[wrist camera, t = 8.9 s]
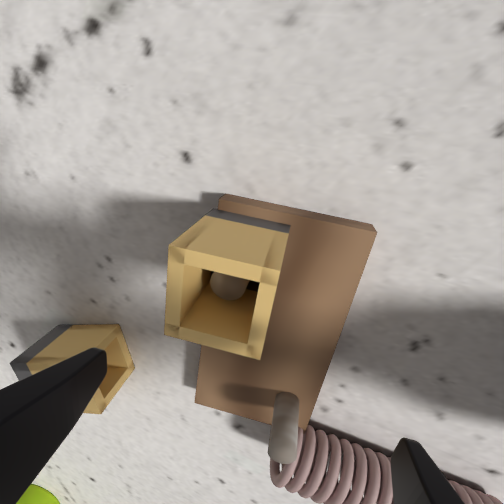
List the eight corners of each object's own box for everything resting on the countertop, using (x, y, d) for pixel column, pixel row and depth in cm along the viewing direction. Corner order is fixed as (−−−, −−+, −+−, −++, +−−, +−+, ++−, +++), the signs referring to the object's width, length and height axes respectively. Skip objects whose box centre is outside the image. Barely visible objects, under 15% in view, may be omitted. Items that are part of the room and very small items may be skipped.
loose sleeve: (275, 293, 19) (259, 360, 13) (205, 276, 19) (164, 334, 14) (290, 225, 17) (280, 270, 12) (213, 208, 17) (168, 245, 12)
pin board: (372, 224, 18) (395, 262, 13) (304, 417, 24) (302, 491, 20) (225, 193, 18) (194, 217, 14) (200, 388, 25) (173, 451, 20)
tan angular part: (9, 363, 22) (79, 364, 20) (58, 324, 26) (119, 324, 24) (35, 409, 23) (101, 414, 22) (77, 366, 27) (134, 368, 26)
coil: (260, 493, 22) (493, 586, 22) (280, 465, 20) (542, 569, 19) (270, 432, 26) (466, 509, 26) (287, 403, 24) (504, 486, 23)
